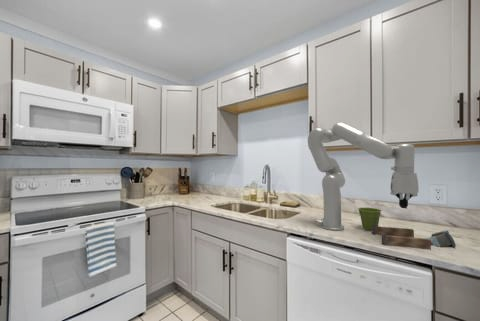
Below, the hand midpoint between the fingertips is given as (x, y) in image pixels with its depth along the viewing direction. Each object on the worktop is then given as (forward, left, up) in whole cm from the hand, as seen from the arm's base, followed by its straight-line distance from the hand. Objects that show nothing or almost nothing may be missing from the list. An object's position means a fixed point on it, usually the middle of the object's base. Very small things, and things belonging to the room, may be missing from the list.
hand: (403, 207), depth 103 cm
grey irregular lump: (+13, +1, -16) cm, 21 cm away
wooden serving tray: (-2, 0, -16) cm, 16 cm away
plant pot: (-10, +17, -16) cm, 25 cm away
